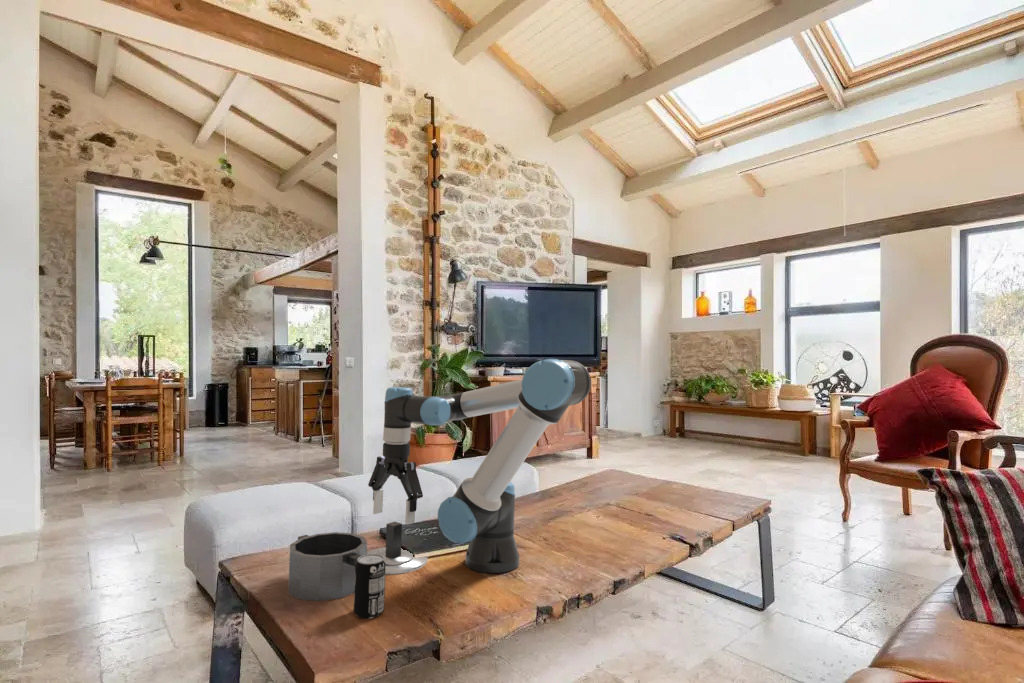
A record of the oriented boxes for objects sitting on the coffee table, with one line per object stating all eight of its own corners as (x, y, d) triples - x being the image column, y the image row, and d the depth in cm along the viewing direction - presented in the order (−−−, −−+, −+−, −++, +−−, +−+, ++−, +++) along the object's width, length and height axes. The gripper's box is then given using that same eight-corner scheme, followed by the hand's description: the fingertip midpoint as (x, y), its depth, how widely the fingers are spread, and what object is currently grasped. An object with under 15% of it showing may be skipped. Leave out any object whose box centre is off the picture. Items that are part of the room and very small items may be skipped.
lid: (441, 560, 154) (442, 522, 154) (390, 582, 138) (391, 540, 139) (395, 544, 165) (396, 509, 165) (343, 563, 149) (344, 525, 150)
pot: (387, 586, 135) (388, 545, 135) (323, 611, 121) (325, 566, 121) (330, 562, 149) (331, 526, 150) (267, 583, 135) (269, 542, 135)
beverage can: (356, 606, 123) (358, 553, 124) (386, 606, 124) (387, 553, 124) (350, 620, 117) (352, 564, 117) (381, 619, 117) (383, 563, 118)
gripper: (437, 446, 148) (434, 524, 148) (378, 435, 163) (375, 506, 163) (417, 449, 142) (414, 530, 142) (358, 438, 157) (354, 511, 157)
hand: (393, 518), depth 152 cm, fingers open, 13 cm apart
